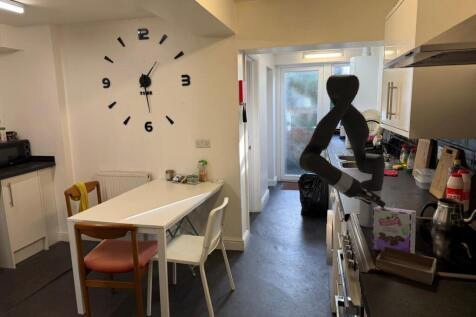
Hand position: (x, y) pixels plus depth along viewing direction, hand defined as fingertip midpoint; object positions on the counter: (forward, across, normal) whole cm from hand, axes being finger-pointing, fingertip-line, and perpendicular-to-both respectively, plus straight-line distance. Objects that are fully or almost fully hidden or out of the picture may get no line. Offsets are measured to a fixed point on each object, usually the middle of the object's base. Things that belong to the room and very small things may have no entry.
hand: (377, 204), depth 128 cm
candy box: (+11, -6, +14) cm, 19 cm away
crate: (+10, -16, +18) cm, 26 cm away
